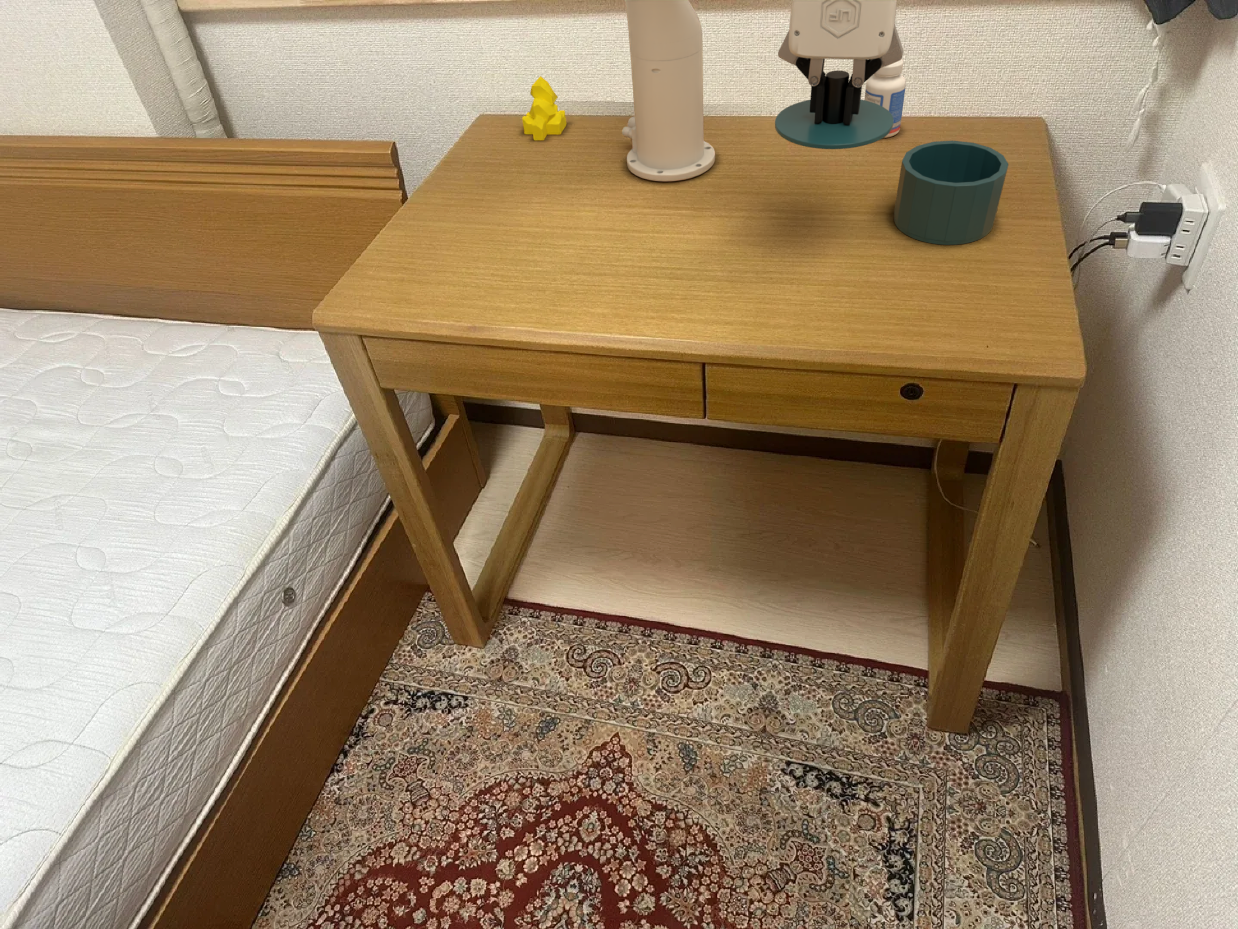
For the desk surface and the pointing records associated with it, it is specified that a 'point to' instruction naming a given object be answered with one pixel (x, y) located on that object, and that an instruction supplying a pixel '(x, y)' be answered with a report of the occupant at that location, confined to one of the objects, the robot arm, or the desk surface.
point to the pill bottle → (888, 92)
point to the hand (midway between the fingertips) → (833, 118)
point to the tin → (949, 192)
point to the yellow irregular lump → (543, 112)
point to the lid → (834, 120)
